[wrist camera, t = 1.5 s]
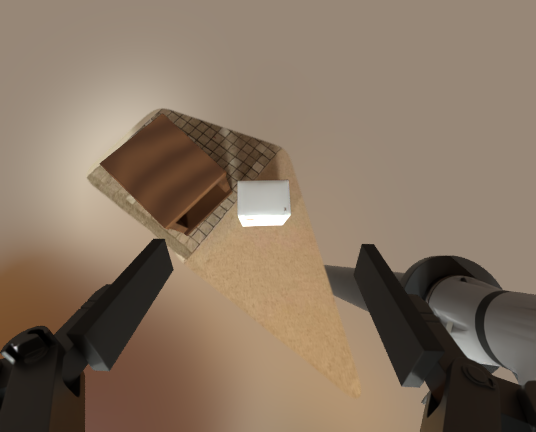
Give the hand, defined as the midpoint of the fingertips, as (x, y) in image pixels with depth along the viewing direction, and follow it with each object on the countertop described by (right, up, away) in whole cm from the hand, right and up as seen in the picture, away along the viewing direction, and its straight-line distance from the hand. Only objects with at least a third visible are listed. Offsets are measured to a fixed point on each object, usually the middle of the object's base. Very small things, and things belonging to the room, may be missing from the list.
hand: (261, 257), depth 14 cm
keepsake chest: (-16, +8, +27) cm, 32 cm away
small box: (-1, +4, +27) cm, 27 cm away
